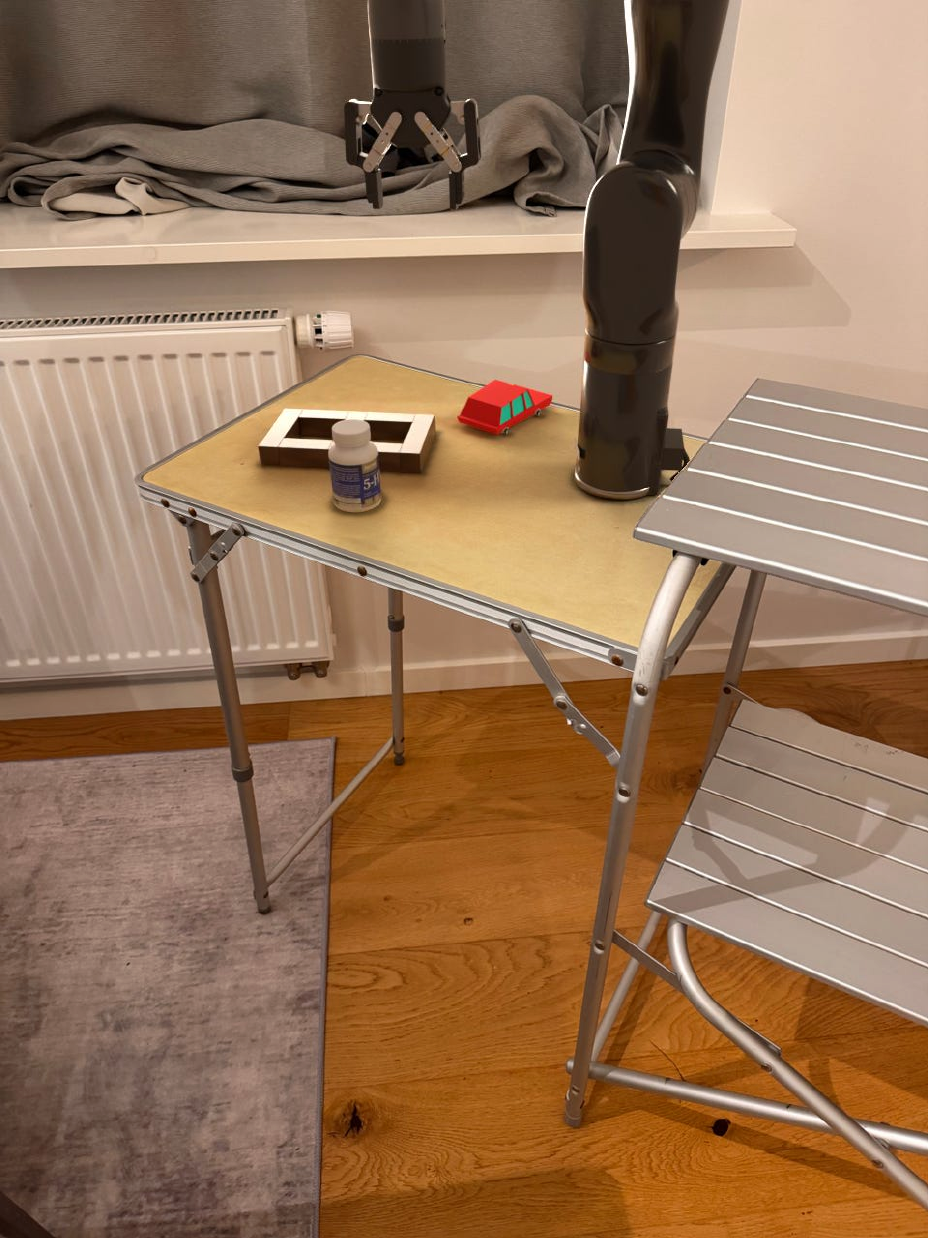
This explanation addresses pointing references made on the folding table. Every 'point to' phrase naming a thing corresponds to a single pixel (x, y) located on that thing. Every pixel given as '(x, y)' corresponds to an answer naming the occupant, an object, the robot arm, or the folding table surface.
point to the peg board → (295, 452)
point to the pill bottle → (354, 467)
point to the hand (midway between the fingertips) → (416, 208)
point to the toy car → (502, 406)
